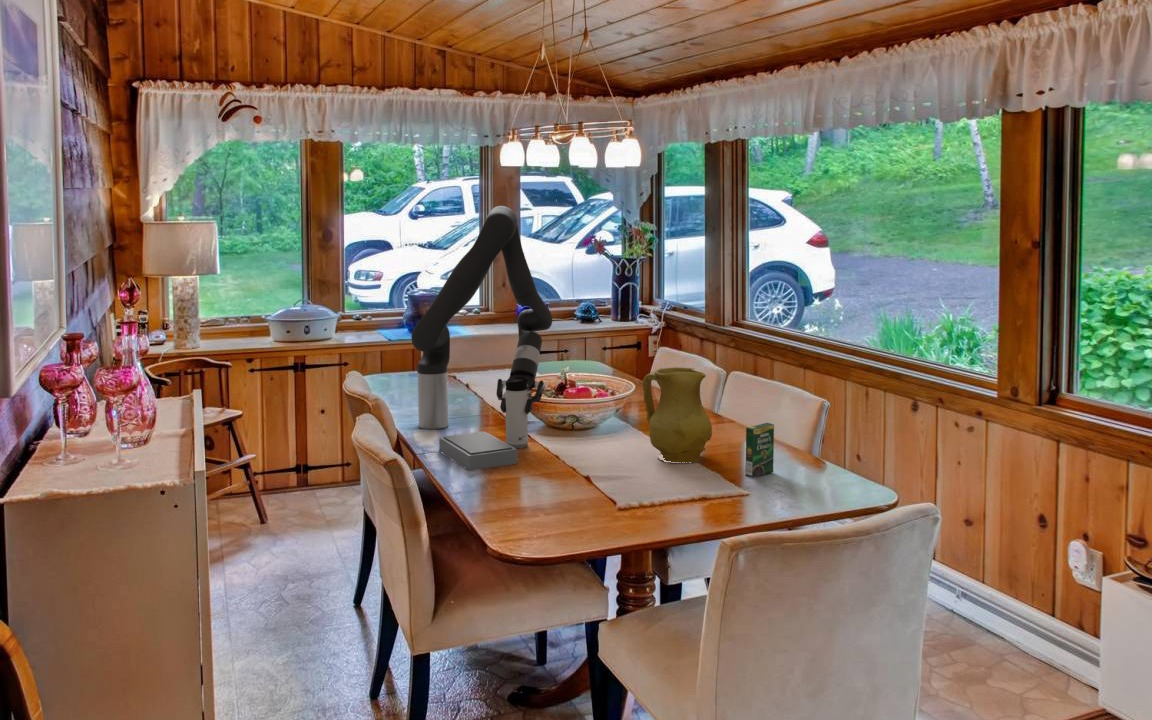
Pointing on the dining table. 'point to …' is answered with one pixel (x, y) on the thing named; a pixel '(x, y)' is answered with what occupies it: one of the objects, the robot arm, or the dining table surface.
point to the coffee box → (759, 449)
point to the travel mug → (516, 413)
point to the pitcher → (677, 414)
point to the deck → (478, 450)
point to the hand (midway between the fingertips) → (515, 411)
